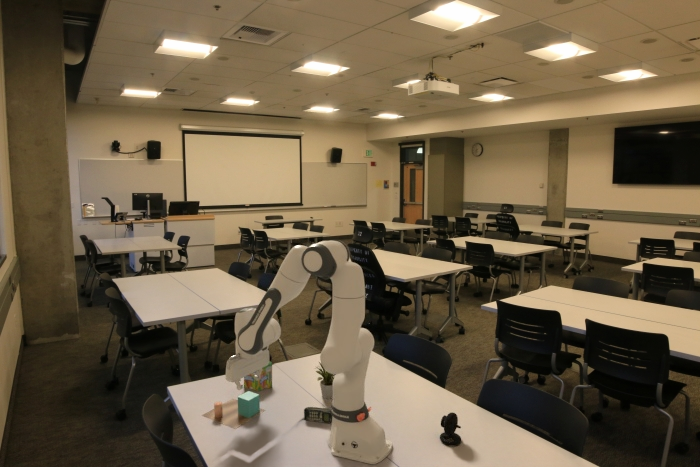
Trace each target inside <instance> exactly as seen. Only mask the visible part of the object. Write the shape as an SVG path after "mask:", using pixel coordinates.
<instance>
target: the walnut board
mask: <svg viewBox="0 0 700 467" xmlns="http://www.w3.org/2000/svg"><path fill="white" fill-rule="evenodd" d="M222 408H223V416H222V417H221V418H215V414H214V408H213V409H211V410H209V411H208V412H205V413H204V414H202V415H201V416H202V417H205V418H207V419H210V420H212V421H214V422H217V423H219V424H222V425H224V426H227V427H229V428H232V429H235V430H236V429H238V428H239V427H240V426H243V425H244V424H246V423H247V422H249V421H251V420H252V419H254V418H255V417H257V416H259V415H260V414H262V413H263V412H265V411H266V410H265V409H263V408H261V407H260V412H258V413H257V414H255V415H254V416H252V417H250V418H247V417H244V416H242V415H239V414H238V399H236V398H231V399H230V400H228V401H225V402H224V403H222Z"/></svg>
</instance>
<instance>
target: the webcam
mask: <svg viewBox="0 0 700 467" xmlns="http://www.w3.org/2000/svg"><path fill="white" fill-rule="evenodd" d="M458 421H459V418H458V415H457V413H455V412H449V413H448V414H447V415H445V414H444V415H443V416H442V418H441V420H440V427H441V428H443V432H441V434H440V435H439V440H440V442H441V443H442V444H443V445H446V446H449V447H455V446H459V445H460V444H461V443H462V437H461V436H460V435H459V434H458V433H456V431H457V429H461V428H462V427H461V426H460V425H458ZM445 438H447V439H450V440H447V439H445ZM451 440H452V441H451Z"/></svg>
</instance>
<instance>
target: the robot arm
mask: <svg viewBox="0 0 700 467" xmlns="http://www.w3.org/2000/svg"><path fill="white" fill-rule="evenodd" d="M350 259H351V250H350V248H349V246H348V244H346V243H345V242H344V241H342V240H340V239H330V240H322V241H319V242H317V243H312V244H310V245H309V246H306V245H301V244H298V245H294V246H292V247H291V249H290V250H289V252H288V253H287V254H286V256H285V258H284V259H283V261H282V263H281V264H280V267H279V269H277V273H276V275H275V276H274V279H273V281H272V282H271V284H270V286H269V287H268V289H267V290H266V292H265V294H264V296H263V297H262V298H261V299H260V302H259V304H258V305H257V307H252V306H251V307H246V308H242V309H240V310H238V311H236V313H235V317H234V333H235V342H234V344H235V355H232V356H230V357H229V359H227V361H226V367H225V380H226V381H228V382H230V383H234V384H235V385H236V390H238V391H240V390H243V388H244V383H241V380H242V379H244V377H245V376H247V375H249V374H251V373H253V372H255V371H257V372H256V375H255V376H254V377H255V380H257V381H258V380H260V375H261V372H262V368H263V367H265V366H267V365H268V364H269V361H270V350H269V346H270V345H271V344H273V343H275V342H276V341H278V340H279V339H280V338H281V336H282V327H281V325H280V324H281V323H280V322H279V321H278V320H277V319H276V318H274V315H275V314H276V313H277V312H278V311H279V310H280V309H281V308H282V307H283V306H284V305H285V306H286V305H287V303H289V302H291V301H293V300H294V299H296V298H298V296H299V295H300V294H301V293H302V292H303V290H304V289H305V288H306V285H307V284H308V283H309V282H308V281H310V277H311V275H312V276H315V277H319V278H321V279H323V280H329V279H330V280H331V283H332V284H331V285H332V304H331V305H332V312H331V313H332V314H331V321H330V326H329V331H328V334H327V338H326V342H325V344H324V346H323V348H322V349H321V352H320V356H319V360H320V363H321V364H322V366H323V368H324V369H325V370H326V371H327V372H329V373H331V374H336V375H335V377H334V380H333V398H332V402H331V408H330V409H331V414H332V423H331V427H330V433H329V436H328V441H327V443H328V446H329V447H330V449H331V455H332V456H335V457H339V458H344V459H349V460H352V461H356V462H361V463H365V464H369V465H370V464H371V465H376V464H378V463H380V462H382V461H383V460H384V459H386V458H387V457H388V456H389V454H390V453H391V452H392V449H393V442H392V441H391V440H389V439H387V437H386V433H385V429H384V428H383V426H382V425H380V424H379V423H378V422H377V420H376V419H374V417H372V416H371V415H370V412H371V410H372V409H371V408H372V406H369V407H367V404H366V402H365V387H366V386H365V385H366V377H367V372H368V367H369V363H370V358H371V354H372V351H373V350H374V347H375V338H374V335H373V334H372V332H370V330H369V329H367V328H364V327H362V325H363V323H364V320H365V318H366V317H365V315H366V285H365V284H366V283H365V276H364V272H363V269H362V266H361V265H359V264H358V263H356V262H355V261H354V262H353V261H350ZM326 371H325V372H326Z"/></svg>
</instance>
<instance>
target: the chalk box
mask: <svg viewBox="0 0 700 467" xmlns="http://www.w3.org/2000/svg"><path fill="white" fill-rule="evenodd" d="M256 372H257V371H255V372H253V373H251V374H249V375H247V376H245V377H243V388H245V389H246V388H247V389H250V390H255V391H257V392H261V391H262V390H264V389H265V388H267V389H270V388H273V362H272V361H270V360H269V364H268V365H267V366H265V367H263V368H262V372H261V375H260V380H258V381H257V380H255V377H254V376H255V375H256Z"/></svg>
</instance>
